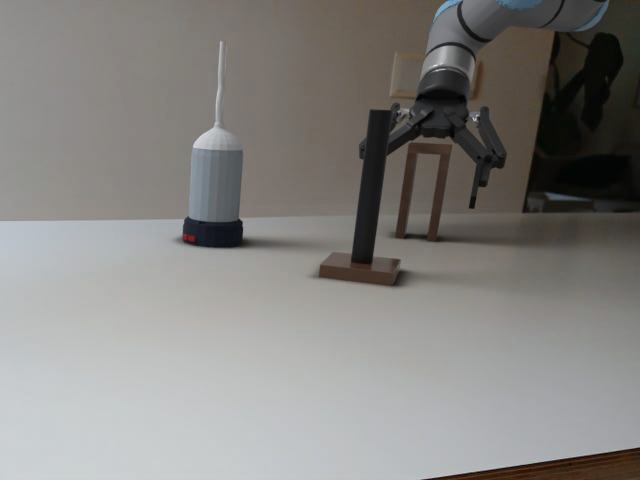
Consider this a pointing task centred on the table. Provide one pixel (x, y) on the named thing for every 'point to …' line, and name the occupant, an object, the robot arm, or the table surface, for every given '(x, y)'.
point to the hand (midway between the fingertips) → (420, 198)
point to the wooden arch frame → (408, 182)
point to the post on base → (367, 214)
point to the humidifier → (215, 181)
